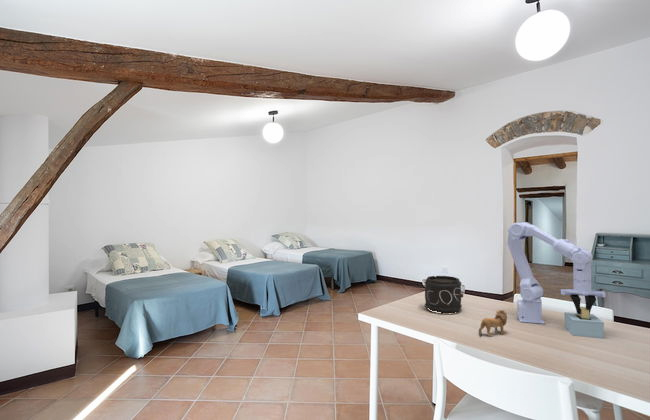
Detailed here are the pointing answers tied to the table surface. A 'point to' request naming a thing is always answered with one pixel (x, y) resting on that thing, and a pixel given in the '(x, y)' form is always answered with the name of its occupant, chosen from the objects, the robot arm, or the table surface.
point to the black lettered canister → (443, 294)
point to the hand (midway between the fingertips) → (583, 313)
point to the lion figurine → (494, 322)
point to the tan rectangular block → (583, 313)
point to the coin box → (584, 325)
